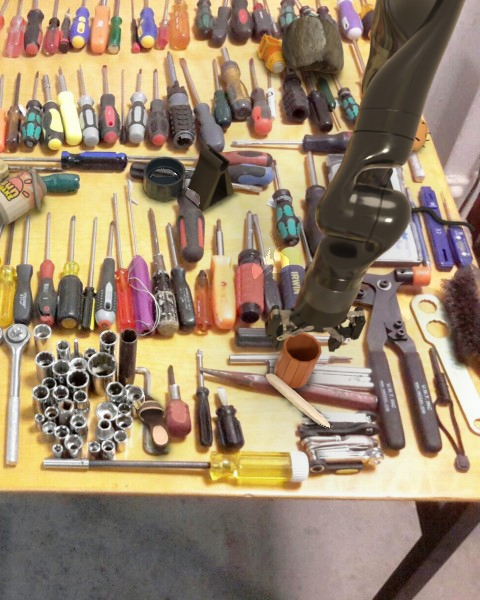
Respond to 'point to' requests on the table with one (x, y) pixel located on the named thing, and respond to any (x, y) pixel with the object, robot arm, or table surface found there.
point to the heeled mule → (154, 422)
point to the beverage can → (20, 195)
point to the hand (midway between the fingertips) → (304, 346)
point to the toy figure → (272, 54)
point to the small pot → (297, 359)
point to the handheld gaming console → (3, 170)
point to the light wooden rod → (297, 400)
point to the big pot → (164, 179)
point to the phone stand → (211, 178)
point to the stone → (313, 45)
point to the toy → (421, 136)
